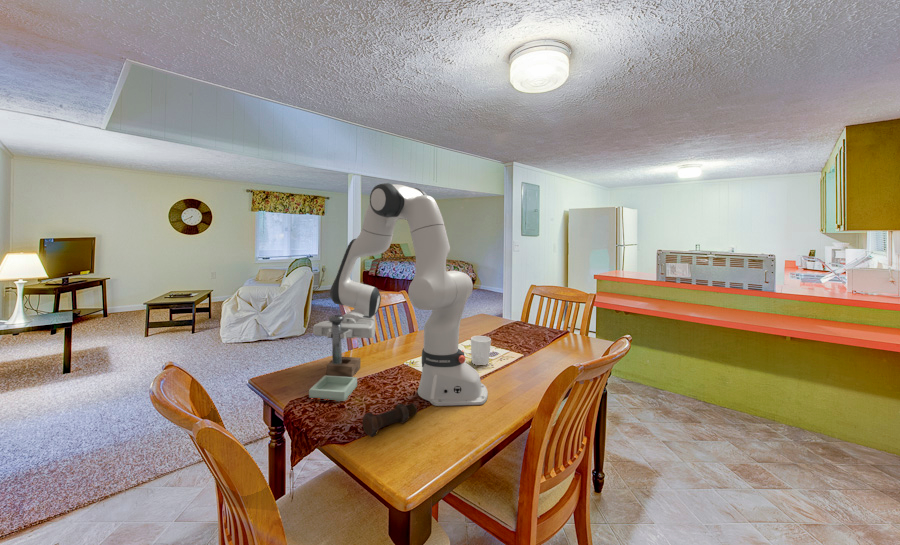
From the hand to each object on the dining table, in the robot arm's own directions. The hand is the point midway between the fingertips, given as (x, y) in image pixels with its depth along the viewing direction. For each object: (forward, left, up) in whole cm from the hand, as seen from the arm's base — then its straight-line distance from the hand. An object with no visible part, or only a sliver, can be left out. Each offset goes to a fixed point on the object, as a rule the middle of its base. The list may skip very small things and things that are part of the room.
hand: (335, 336), depth 113 cm
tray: (0, +2, -18) cm, 18 cm away
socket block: (+3, -14, -18) cm, 22 cm away
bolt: (-23, +18, -18) cm, 34 cm away
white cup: (-46, -31, -18) cm, 58 cm away
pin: (0, -1, -9) cm, 9 cm away
